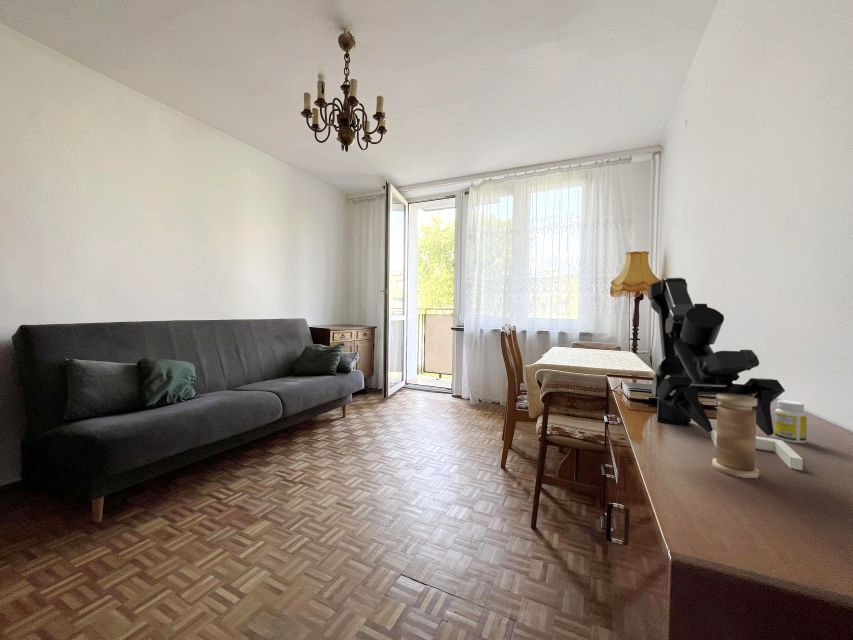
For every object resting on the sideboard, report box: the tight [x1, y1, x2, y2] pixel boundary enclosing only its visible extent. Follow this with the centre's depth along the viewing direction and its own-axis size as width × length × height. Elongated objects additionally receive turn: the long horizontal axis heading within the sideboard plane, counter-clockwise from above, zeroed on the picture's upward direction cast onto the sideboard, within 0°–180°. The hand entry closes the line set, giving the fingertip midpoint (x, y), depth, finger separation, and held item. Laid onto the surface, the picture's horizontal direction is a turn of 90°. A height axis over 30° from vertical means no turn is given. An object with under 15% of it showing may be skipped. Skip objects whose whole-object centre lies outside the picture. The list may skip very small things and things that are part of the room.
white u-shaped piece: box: [710, 429, 804, 471], centre depth 66 cm, size 11×11×2 cm
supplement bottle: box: [774, 399, 808, 444], centre depth 74 cm, size 5×5×8 cm
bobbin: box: [711, 393, 760, 479], centre depth 58 cm, size 6×6×13 cm
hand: (740, 432), depth 57 cm, fingers open, 9 cm apart
